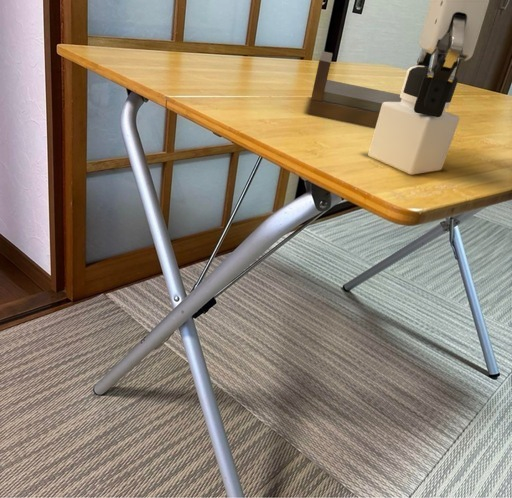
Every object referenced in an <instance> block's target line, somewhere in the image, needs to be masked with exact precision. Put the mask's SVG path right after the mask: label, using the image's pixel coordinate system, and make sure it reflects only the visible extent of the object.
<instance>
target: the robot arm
mask: <svg viewBox="0 0 512 498" xmlns="http://www.w3.org/2000/svg"><path fill="white" fill-rule="evenodd" d="M489 3H490V0H429V4H428V7H427V11H426V14H425V18H424V21H423V25H422V29H421V32H420V37H419V42H418V43H419V46H420V48H421V50H420V54H419V55H418V58H417V60H416V65H420V66H429V69H428V74H427V77H423V81H422V84H421V87H420V90H419V93H418V97H417V100H416V103H415V106H414V111H415V112H416V113H419V114H424V115H429V116H434V117H440V116H441V115H442V113H443V110H444V107H445V104H446V101H447V98H448V95H449V92H450V89H451V86H452V82H453V79H454V76H456V72H457V68H458V65H459V60H461V61H465V62H466V61H468V60H470V59H471V58H473V55H474V52H475V49H476V45H477V43H478V40H479V36H480V33H481V30H482V26H483V24H484V19H485V16H486V13H487V10H488V7H489ZM416 65H415V66H416Z"/></svg>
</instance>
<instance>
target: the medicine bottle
mask: <svg viewBox="0 0 512 498" xmlns="http://www.w3.org/2000/svg"><path fill="white" fill-rule="evenodd" d="M428 69H429V66H420V65H413V66H410V67H409V68H408V69H407V70H406V73H405V77H404V80H403V83H402V87H401V90H400V98H402V99H401V102H384V103H383V104H382V106H381V110H380V113H379V117H378V120H377V124H376V128H374V130H373V131H374V132H373V135H372V138H371V139H372V140H371V141H370V145H369V148H368V153H367V155H368V157H369V158H372V159H374V160H376V161H378V162H381V163H383V164H386V165H388V166H390V167H392V168H395V169H396V170H399V171H401V172H403V173H405V174H408V175H410V176H411V175H412V176H413V175H418V174H425V173H431V172H439V171H441V170H442V169H443V167H444V165H445V161H446V159H447V156H448V153H449V150H450V147H451V144H452V142H453V139H454V136H455V133H456V130H457V128H458V125H459V122H460V116H459V115H456V114H454V113H451V112H448V111H446V110H447V109H449V108H450V106H451V105H450V104H451V103H452V100H453V97H454V93H455V90H456V87H457V85H458V81H459V80H458V77H457V76H456V75H455V76H454V79H453V82H452V86H451V89H450V92H449V95H448V98H447V101H446V104H445V107H444V110H443V113H442V115H441V116H440V117H434V116H429V115H424V114H419V113H416V112H415V111H414V106H415V103H416V100H417V97H418V93H419V90H420V87H421V84H422V81H423V77H427V74H428Z"/></svg>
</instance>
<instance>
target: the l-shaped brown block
mask: <svg viewBox="0 0 512 498" xmlns="http://www.w3.org/2000/svg"><path fill="white" fill-rule="evenodd" d="M332 59H333V52H328V51H321V55H320V57H319V59H318V64H317V69H316V73H315V79H314V83H313V86H312V92H311V96H310V102H309V106H308V110H307V115H308V116H314V117H318V118H323V119H328V120H332V121H333V120H334V121H338V122H342V123H348V124H353V125H357V126H362V127H368V128H372V129H375V128H376V124H377V120H378V117H379V113H380V110H381V106H382V104H383V103H384V102H401V99H402V98H400V94H399V93H395V92H394V93H393V92H390V91H385V90H380V89H376V88H375V89H374V88H371V87H366V86H361V85H355V84H351V83H346V82H341V81H335V80H330V79H328V76H329V73H330V69H331V63H332Z"/></svg>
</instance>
